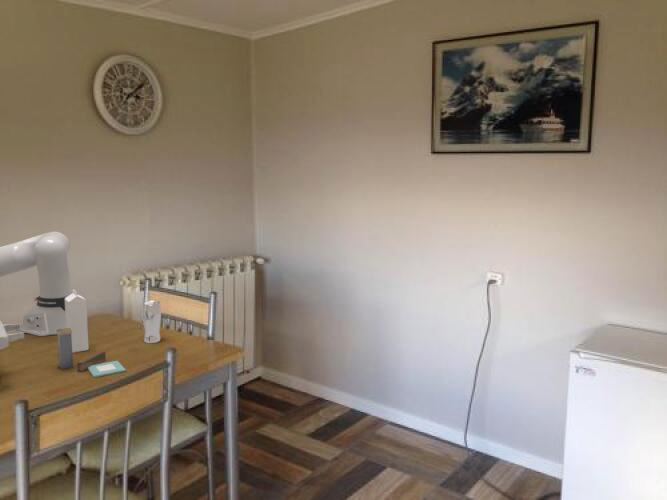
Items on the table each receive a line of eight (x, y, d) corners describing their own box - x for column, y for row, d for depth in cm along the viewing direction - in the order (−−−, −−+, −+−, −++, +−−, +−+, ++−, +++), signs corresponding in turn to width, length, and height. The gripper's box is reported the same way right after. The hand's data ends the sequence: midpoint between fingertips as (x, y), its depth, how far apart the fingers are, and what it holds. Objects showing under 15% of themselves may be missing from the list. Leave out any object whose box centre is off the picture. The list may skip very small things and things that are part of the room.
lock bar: (60, 370, 191) (58, 332, 189) (58, 366, 195) (56, 329, 193) (73, 367, 194) (71, 330, 192) (71, 364, 197) (69, 327, 195)
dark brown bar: (77, 371, 191) (77, 362, 190) (100, 358, 202) (100, 350, 202) (82, 371, 190) (82, 363, 190) (105, 359, 202) (105, 351, 201)
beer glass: (158, 343, 219) (157, 305, 217) (140, 343, 219) (139, 304, 217) (164, 338, 226) (163, 300, 224) (146, 337, 226) (145, 300, 224)
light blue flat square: (94, 377, 186) (94, 375, 186) (86, 367, 194) (86, 365, 194) (125, 371, 192) (125, 369, 191) (117, 362, 200) (117, 360, 199)
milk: (71, 353, 207) (67, 293, 204) (67, 348, 212) (63, 289, 208) (89, 350, 211) (85, 291, 207) (84, 345, 216) (81, 287, 212)
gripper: (-31, 338, 185) (18, 331, 193) (-27, 357, 169) (27, 349, 177) (-33, 319, 184) (16, 313, 192) (-29, 336, 168) (25, 329, 176)
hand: (21, 330), depth 184 cm, fingers open, 8 cm apart
